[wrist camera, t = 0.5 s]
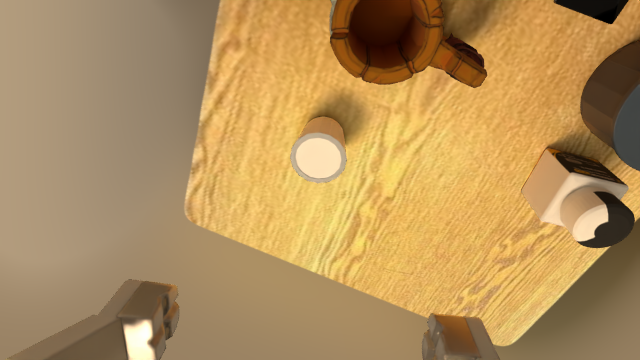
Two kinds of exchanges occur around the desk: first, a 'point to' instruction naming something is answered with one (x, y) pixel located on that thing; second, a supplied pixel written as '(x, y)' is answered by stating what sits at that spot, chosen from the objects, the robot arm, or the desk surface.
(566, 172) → the medicine bottle
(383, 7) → the mug
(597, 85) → the enamel pot
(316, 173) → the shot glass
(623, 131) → the pot lid
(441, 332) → the robot arm
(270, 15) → the desk surface
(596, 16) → the black wedge
